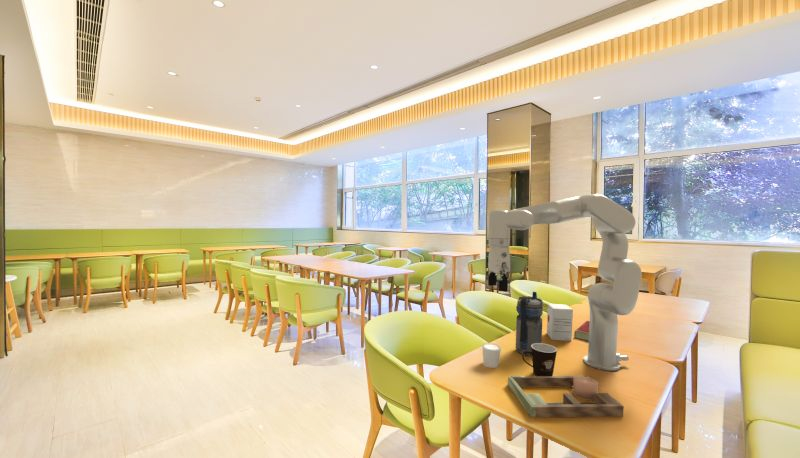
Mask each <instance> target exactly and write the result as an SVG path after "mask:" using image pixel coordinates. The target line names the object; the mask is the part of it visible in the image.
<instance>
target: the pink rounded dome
mask: <svg viewBox="0 0 800 458" xmlns="http://www.w3.org/2000/svg"><path fill="white" fill-rule="evenodd" d="M574 376H575V377H574V378H573V386H572V393H573V394H574V395H575V397H578V398H580V399H582V400H586V401H595V393H599V392H598V389H599V382H598V381H597V380H595V379H593V378H591V377H589V376H587V377H585V376H586V375H574Z"/></svg>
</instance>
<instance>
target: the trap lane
mask: <svg viewBox="0 0 800 458" xmlns="http://www.w3.org/2000/svg"><path fill="white" fill-rule="evenodd" d="M575 376H576V375H553V376H535V375H532V376H531V375H529V376H527V375H522V374H521V375H518V374H517V375H511V376H509V375H508V376H507V386H508V388H510V390H511V392H512V393H513V394H514V395H515V397H516V399H517V400H518V401H519V403H520V404H521V405H522V406H523V408H524V410H525V411H526V412H527V414H529V416H530V418H578V417H579V418H584V417H585V418H588V417H589V418H591V417H598V418H599V417H600V418H601V417H604V418H605V417H624V407H625V406H624V405H623V404H622V403H620V402H619V401H618V400H617V399H615V398H614V397H613V396H612V395H610V394H609V393H608V392H601V393H600V392H598V393H595V400H593V401H594V402H590V401H589V402H583V401H582V402H579V401H578V400H577V399H576V398H575V397H574V396H573V395H572V393H567V392H566V393H563V395H562V397H563V398H562V402H546V401H545V400H544V399H543V397H542V396H541V395H540V394H539V393H525V392H524V390H523V388H525V387H526V388H527V387H531V388H532V387H548V388H549V387H573V378H574V377H575ZM584 376H585V377H588V376H587V375H584Z"/></svg>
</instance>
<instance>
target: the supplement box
mask: <svg viewBox="0 0 800 458" xmlns="http://www.w3.org/2000/svg"><path fill="white" fill-rule="evenodd" d="M573 313H574V309H572V308H571V306H569V305H567V304H562V303H559V304H558V303H547V317H546V319H547V320H546V322H547V323H546V334H547V335H548V337H549V338H550V339H551V340H552V341H566V342H567V341H568V342H572V340H573V339H572V338H573V337H572V336H573V317H574V314H573Z"/></svg>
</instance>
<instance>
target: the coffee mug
mask: <svg viewBox="0 0 800 458" xmlns="http://www.w3.org/2000/svg"><path fill="white" fill-rule="evenodd" d="M531 350H532V352H529V351H526V352H524V353H523V354H522V356H521V359H522V360H523V361H524V363H526V365H528V366H530V367H531V368H532V371H533V376H554V370H555V364H556V357H557V353H558V350H557V348H556V347H555V346H554V345H552V344H547V343H535V344H532V345H531ZM526 353H530V354H531V355H532V356H531V359H532V364H531V363H530V362H528V361H526V359H525V356H526V355H525V354H526Z"/></svg>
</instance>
